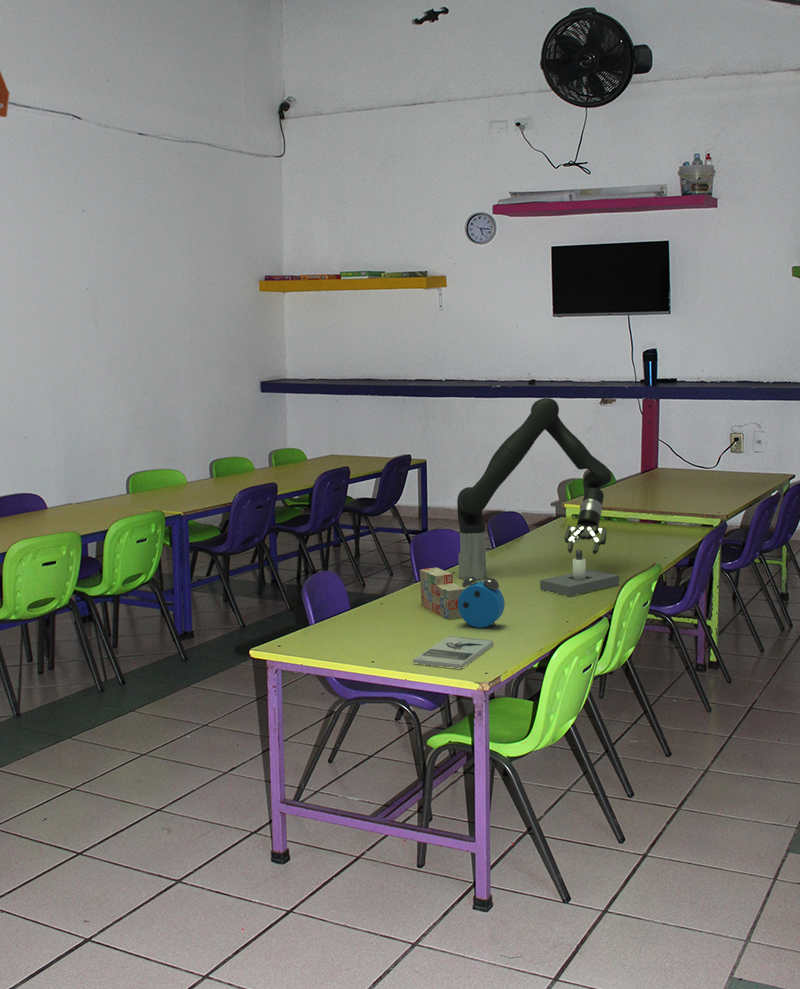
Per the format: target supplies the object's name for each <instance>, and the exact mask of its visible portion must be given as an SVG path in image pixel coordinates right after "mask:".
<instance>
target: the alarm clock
mask: <svg viewBox="0 0 800 989" xmlns="http://www.w3.org/2000/svg"><path fill="white" fill-rule="evenodd" d="M461 587H463V588H465V589H464V590H463V591H462V593H461V594H460V596H459V599H458V610H459V613H460V615H461V618H462V619H463V621H464V622H466V623H467V624H468V625H469V626H472V627H474V628H477V629H478V628H479V629H480V628H487V627H489V626H491V625H492V624H493V625H494V626H495V625H496V621H497V620H499V619H500V618H501V617H502V615H503V613H504V610H505V598H504V595H503V593H502V592H501V590H500V589H499V587H500V584H499V582H498V580H496V579H495V578H493V577H486V578H484V580H483V579H479V580H477V579H476V578H475V577H468V578H467V577H466V579H463V581H462V584H461Z"/></svg>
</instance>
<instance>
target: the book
mask: <svg viewBox="0 0 800 989" xmlns="http://www.w3.org/2000/svg"><path fill="white" fill-rule="evenodd" d="M490 647H491V648H492V647H494V640H492V639H491V640H490V639H481V638H480V639H479V638H472V637H462V636H452V635H448V636H446V637H445V638H443V639H442V640H440V641H438V642H437V643H436V644H434V645H432V646H431V647H430V648H428V649H426V650H425V651H424V652H422V653H420V654H419V655H417V656H416V657H414V658H413V660H412V661H413V664H414V663H418V664H425V665H433V666H443V667H454V668H462V667H464V666H465V665H466V664H468V663H469V662H471V661H472V660H473V661H475V660H476V659H477V658H476V657H478V656H479V655H480V656H482V655H483V654H484V653H486V652H487V651H489V648H490ZM491 648H490V649H491ZM486 650H487V651H486ZM485 651H486V652H485ZM483 652H484V653H483ZM482 653H483V654H482ZM481 654H482V655H481ZM480 656H479V657H480ZM479 657H478V658H479ZM475 658H476V659H475ZM474 659H475V660H474ZM473 661H472V662H473ZM472 662H471V663H472ZM469 664H470V663H469ZM469 664H468V665H469ZM433 666H432V667H433ZM465 667H466V666H465ZM465 667H464V668H465Z"/></svg>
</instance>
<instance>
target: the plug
mask: <svg viewBox="0 0 800 989" xmlns="http://www.w3.org/2000/svg"><path fill="white" fill-rule="evenodd" d="M586 561H587V558H584V557H583V550H581V549H576V550H575V558H572V573H573V579H574V580H579V581H581V580H585V579H586V570H587V567H586V565H587V564H586V563H587V562H586Z"/></svg>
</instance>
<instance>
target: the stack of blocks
mask: <svg viewBox="0 0 800 989" xmlns="http://www.w3.org/2000/svg"><path fill="white" fill-rule="evenodd" d="M419 583H420V602H421V604H420V605H421V606H422V607H424V608H426V609H427V610H429V611H432V612H434V613H436V614H438V615H439V616H441V617H444V618H445V619H447V620H453V619H459V618H462V617H461V615H460V613H459V610H458V599H459V596H460V594H461V593H462V591H463V590H464V589H465V588H466V587H465V588H463V586H462V585H458V584H456V583H454V581H453V573H451V572H448V571H446V570H443V569H441V568H439V567H430V568H423V569H419Z"/></svg>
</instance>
